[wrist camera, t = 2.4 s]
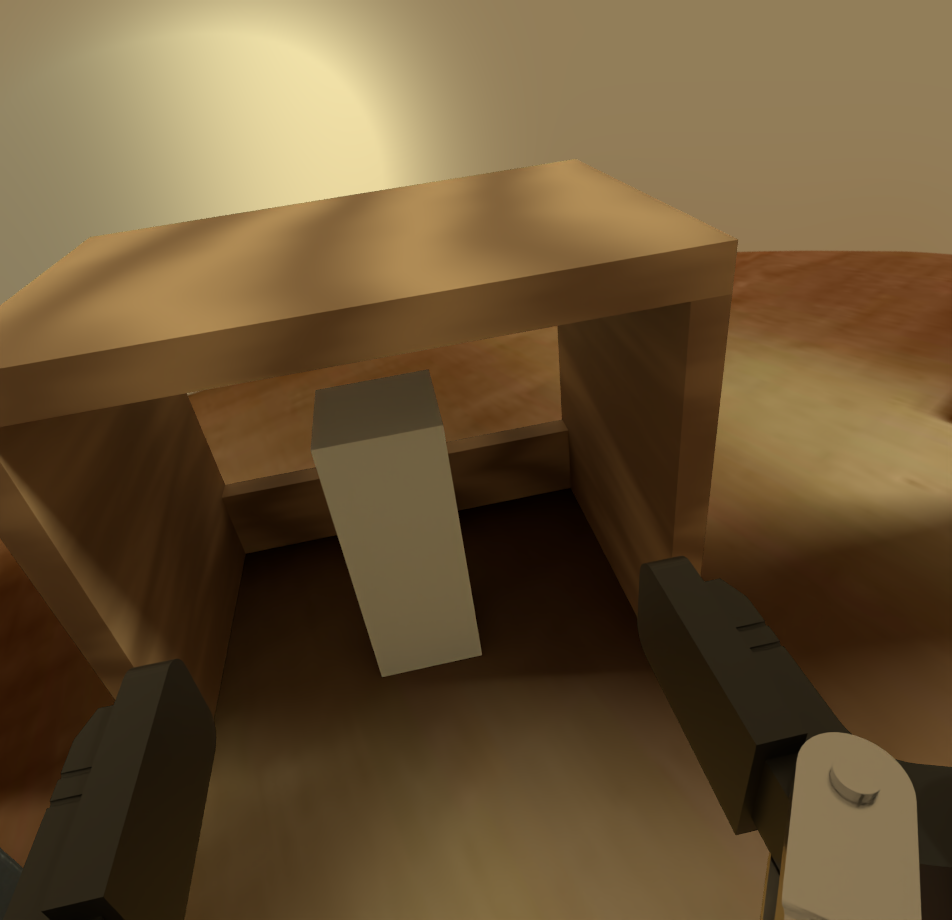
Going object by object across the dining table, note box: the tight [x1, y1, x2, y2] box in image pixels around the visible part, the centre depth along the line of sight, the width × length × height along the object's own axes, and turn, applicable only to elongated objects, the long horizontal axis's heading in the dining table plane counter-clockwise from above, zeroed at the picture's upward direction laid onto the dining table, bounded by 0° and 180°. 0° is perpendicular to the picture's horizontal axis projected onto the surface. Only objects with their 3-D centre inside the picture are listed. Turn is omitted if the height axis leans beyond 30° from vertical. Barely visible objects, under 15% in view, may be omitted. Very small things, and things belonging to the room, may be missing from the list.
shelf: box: [0, 159, 738, 719], centre depth 27 cm, size 21×14×18 cm
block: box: [311, 370, 482, 677], centre depth 27 cm, size 4×4×12 cm
